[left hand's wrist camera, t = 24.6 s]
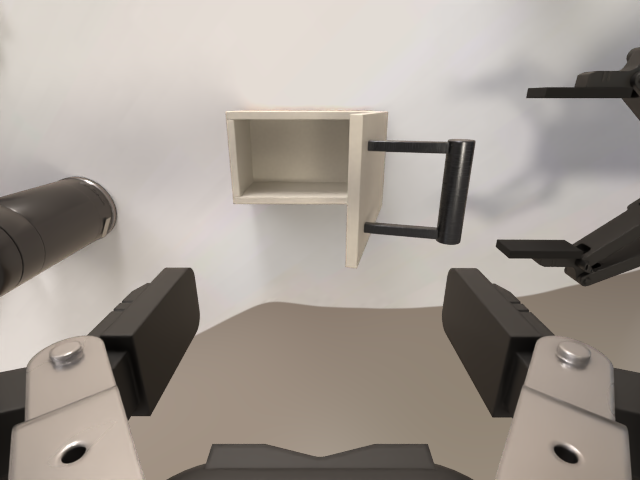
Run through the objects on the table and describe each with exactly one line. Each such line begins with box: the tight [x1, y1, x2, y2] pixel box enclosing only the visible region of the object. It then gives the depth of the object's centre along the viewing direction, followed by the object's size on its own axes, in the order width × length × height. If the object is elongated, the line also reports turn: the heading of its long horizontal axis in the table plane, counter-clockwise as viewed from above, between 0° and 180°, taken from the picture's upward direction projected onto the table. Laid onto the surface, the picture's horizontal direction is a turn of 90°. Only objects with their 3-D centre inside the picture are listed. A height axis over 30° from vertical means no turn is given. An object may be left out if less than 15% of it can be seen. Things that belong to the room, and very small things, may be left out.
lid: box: [346, 112, 475, 268], centre depth 30 cm, size 18×10×8 cm
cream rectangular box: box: [226, 111, 382, 204], centre depth 44 cm, size 17×10×10 cm, turn 90°
